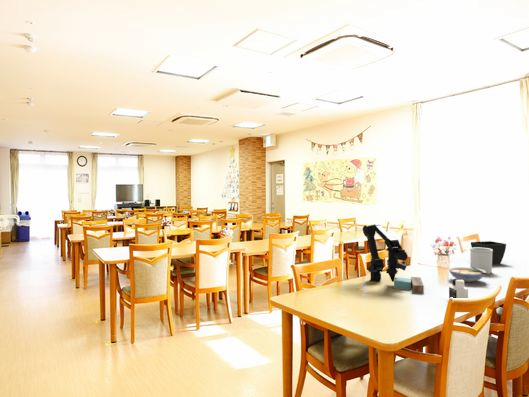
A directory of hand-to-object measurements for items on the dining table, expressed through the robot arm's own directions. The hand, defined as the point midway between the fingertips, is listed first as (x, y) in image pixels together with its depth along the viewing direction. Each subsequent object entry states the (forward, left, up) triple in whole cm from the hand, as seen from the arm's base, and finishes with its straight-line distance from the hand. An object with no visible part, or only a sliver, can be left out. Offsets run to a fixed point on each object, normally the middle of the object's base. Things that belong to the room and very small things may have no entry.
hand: (392, 281), depth 241 cm
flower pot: (+66, +103, -3) cm, 123 cm away
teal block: (+6, 0, -3) cm, 7 cm away
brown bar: (+15, 0, -4) cm, 15 cm away
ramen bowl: (+45, +31, -3) cm, 55 cm away
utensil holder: (+57, +64, -3) cm, 86 cm away
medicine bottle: (+37, -18, -3) cm, 41 cm away
